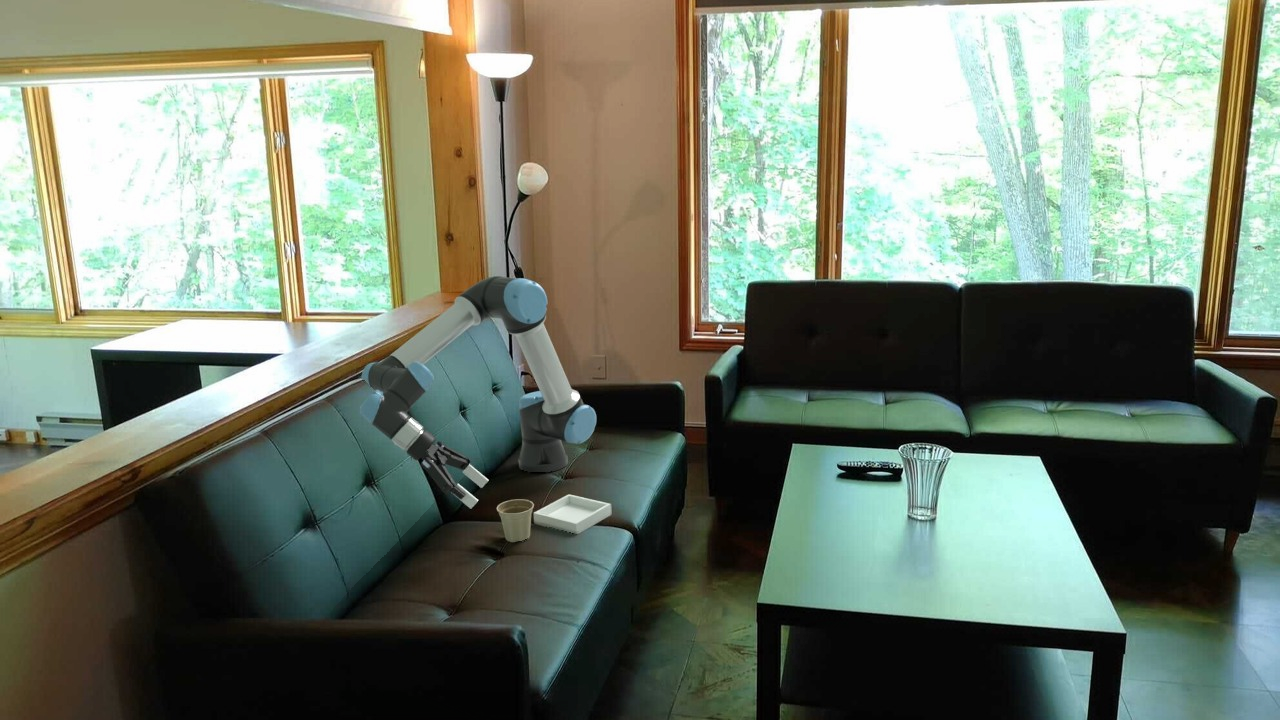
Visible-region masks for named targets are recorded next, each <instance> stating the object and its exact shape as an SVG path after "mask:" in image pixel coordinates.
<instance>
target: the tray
mask: <svg viewBox="0 0 1280 720" xmlns="http://www.w3.org/2000/svg"><path fill="white" fill-rule="evenodd" d="M532 513H533V523H534V525H538V526H542V527H546V526H547V528H549V527H553V528H556V529H555V530H557V529H559V530H558V531H561V530H564V531H563V532H565V531H567V532H566V533H569V532H571V533H570V534H572V533H575V534H574V535H576V534H577V535H579V534H580V533H582V532H585V531H586V530H588V529H589V528H591V527H593V526H594V525H597V524H598V523H600V522H601V521H602V520H605V519H607V518H609V517H610V516H612V513H613V512H612V503H608V502H605V501H600V500H595V499H591V498H586V497H582V496H578V495H573V494H567V495H565V496H563V497H561V498H559V499H557V500H555V501H553V502H551V503H549V504H548V505H546V506H544V507H542V508H540V509H538V510H536V511H534V512H532ZM553 528H552V529H553Z"/></svg>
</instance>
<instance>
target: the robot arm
mask: <svg viewBox="0 0 1280 720" xmlns="http://www.w3.org/2000/svg"><path fill="white" fill-rule="evenodd" d="M547 306H548V297H547V294H546V291H545V290H544V288H543V287H542V286H541V284H539V283H537V282H536V281H533V280H530V279H528V278H521V277H519V278H518V277H517V278H516V277H514V278H513V277H506V276H501V275H498V276H495V275H493V276H490V277H487V278H485V279H484V278H483V279H482V280H480V281H478V282H476V283H475V284H473V285H472V286H470V287H469V288H467V289H465V290H464V291H463V292H462V293H461V294H459V295H458V296H457V297H456V298H455V299H454V304H452V305H451V306H450V307H448V309H447V310H445V311H444V312H442V313H441V314H440V315H439V316H437V317H436V318H435V319H434V320H432V321H431V322H430V323H428V325H426V326H425V327H424V328H422V329H421V330H420V331H418V332H417V333H416V334H415V335H414V336H413V337H411V338H409V340H408V341H406V342H405V343H404V344H402V345H401V346H399V348H398V349H396V350H395V351H393V352H392V353H391V354H389V355H388V356H386V358H385V359H383V360H382V361H376V362H370V363H368V364H367V365H365V367H364V368H363V370H362V373H361V380H365V381H366V382H367V383H368V384H369V386H370V387H372V388H373V389H374V390H375V391H372V393H371V394H369V396H368V397H367V398H366V399H365V400H364V402H363V403H362V404H360V407H359V410H358V412H359V415H360V416H362V418H364V419H365V420H366V421H367V422H368V423H369V424H370V425H372V426H373V427H374V428H375V429H377V430H378V431H379V432H381V434H383V435H384V436H386V437H387V439H389V440H391V442H392V443H394V444H393V445H394V446H397V447H399V448H400V449H401V450H402V451H405V452H406V454H407V455H408V456H409V457H411V458H412V459H413V460H414V461H419V460H420V459H422V460H423V461H422V462H421V463H420V464H419V465H420V467H421V468H422V469H424V470H425V471H426V472H427V474H428V475H429V476H430V478H431V479H432V480H433V481H434V482H435V484H436V485H437V487H439V488H440V490H441V491H442V492H443V494H445V495H449V494H450V493H451V494H452V495H454V497H456V498H457V499H458V500H459V501H460V502H462V503H463V504H464V505H465V506H467V507H468V508H469V509H473V507H475V505H476V504H477V503H478V501H479V499H478V498H476V496H474V495H473V494H472V493H470V492H469V491H468V490H467V489H466V488H465V487H463V486H462V485H460V483H456V482H455V479H454V478H453V477H452V475H451V474H450V472H449V471H448V469H447V468H446V465H448V466H451V467H454V468H456V469H458V470H462V473H463V474H464V475H465V476H466V477H467V478H468V479H470V480H471V481H472V482H473V483H474V484H476V485H477V486H479V488H480V489H482V488H483V487H485V486H486V484H487V483H488V482H489V479H488V478H487V477H486V476H485V475H483V473H482V472H480V471H478V470H477V469H476V468H475V467H474V466H473V465H472V464H471V463H472V459H470V458H469V457H468V456H467V455H465V454H462V453H461V452H458V451H457V450H455V449H454V448H451V447H449V446H448V445H446V444H445V443H443V442H442V441H441V440H438V441H437V440H436V439H437V437H436V436H435V435H434V434H433V433H432V432H430V431H429V430H427V429H424V426H423V425H422V424H421V423H419V421H417V420H416V419H415V418H413V417H412V416H410V414H408V411H410V409H411V408H412V407H413V406H414V405H415V404H416V403H417V402H418V401H419V400H420V398H421V397H422V396H423V395H424V394H425V393H427V391H428V389H429V388H430V387H431V385H432V384H433V383H434V382H435V377H434V373H432V371H431V370H430V369H429V367H427V366H426V365H425V364H426V363H427V362H429V361H430V360H431V359H432V358H434V357H435V355H437V354H439V352H441V351H442V350H443V349H444V348H446V347H447V346H448V345H449V344H450V343H452V342H454V340H455V339H457V338H458V337H459V336H461V335H462V334H463V333H465V331H466V330H467V329H469V328H470V327H472V326H479V325H480V324H481V323H483V322H484V321H486V320H489V319H492V318H493V319H501V321H502V322H503V325H504V327H505V329H506V331H507V333H508V334H510V335H513V336H515V338H516V341H517V343H518V345H519V347H520V349H521V351H522V353H523V357H524V358H525V360H526V362H527V363H526V364H527V365H528V367H529V370H530V371H531V374H532V377H533V378H534V381H535V382H536V385H537V387H538V389H539V390H537V391H533V392H529V393H526V394H524V395H522V396H521V397H520V398H519V401H518V403H519V404H518V406H519V407H518V411H519V419H520V429H521V431H520V432H521V442H522V444H521V448H520V453H519V457H518V468H519V469H520V470H521V471H522V470H524V471H523V472H525V471H529V472H528V473H530V472H546V473H550V472H551V471H552V472H555V471H558V470H562V469H563V468H565V467H566V466H567V465H568V464H569V459H568V454H567V452H566V451H565V448H564V445H563V442H566V443H569V444H577V445H578V444H583V443H584V442H586V441H587V440H588V439H590V438H591V436H592V434H593V432H594V431H595V427H596V425H597V414H596V411H595V409H594V407H591V406H590V405H588V404H585V403H584V402H583V399H582V397H581V395H580V393H579V391H578V390H577V389H576V390H575V389H573V388H572V387H571V385H570V382H569V380H568V377H567V375H566V373H565V371H564V368H563V365H562V363H561V362H560V361H561V360H560V358H559V356H558V354H557V351H556V350H555V347H554V345H553V342H552V340H551V338H550V335H549V333H548V331H547V329H546V326H545V324H544V323H545V321H546V319H547V314H546V313H547V310H548V308H547ZM436 441H437V442H436ZM562 441H563V442H562ZM435 442H436V443H435Z"/></svg>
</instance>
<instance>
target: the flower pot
mask: <svg viewBox="0 0 1280 720" xmlns="http://www.w3.org/2000/svg"><path fill="white" fill-rule="evenodd" d="M534 506H535V504H534V502H533V501H531V500H529V499H521V498H520V499H519V498H518V499H510V500H506V501H503V502H501V503H499V504H497V507H496V511H497V512H498V515H499V516H500V519H501V520H500V521H501V525H502V528H503V532H504V537H505V540H506V541H508V542H510V543H516V542H518V541H522V540H525V539H527V538H528V539H529V538H530V536H531V525H532V513H533V509H534ZM528 539H527V540H528ZM525 541H526V540H525ZM522 542H523V541H522Z"/></svg>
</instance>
